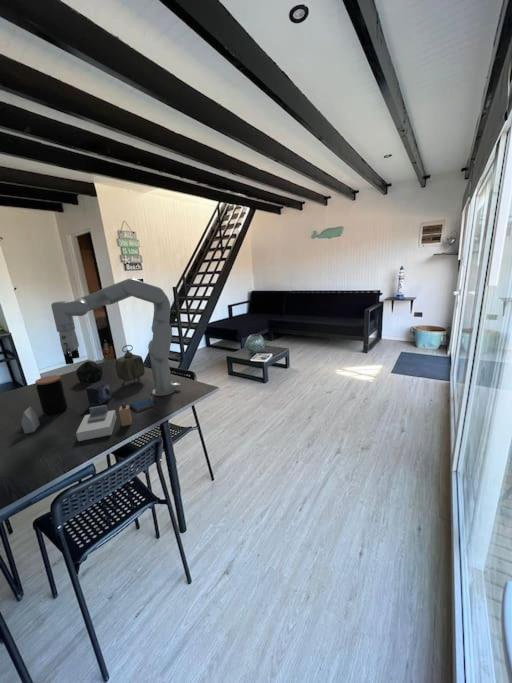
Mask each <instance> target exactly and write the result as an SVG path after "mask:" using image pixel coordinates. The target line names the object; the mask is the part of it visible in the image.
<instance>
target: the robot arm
mask: <svg viewBox="0 0 512 683" xmlns="http://www.w3.org/2000/svg"><path fill="white" fill-rule="evenodd" d="M131 297H133V298H136V299H139V300H143V301H145V302H148V303H152V305H153V317H152V323H151V324H152V325H151V332H152V339H151V340H150V341H149V342H148V345H147V346H148V347H147V348H148V354H149V359H150V366H151V372H152V381H153V385H154V389H152V395H153V396H156V397H163V396H165V397H166V396H169V395H171V394H173V393H175V391H176V388H181V384H180V383H178V382H173V381H172V377H171V370H170V361H169V353H170V350H171V345H172V344H171V343H172V338H173V329H172V326H171V324H170V318H171V303H170V300H169V297H168V295H167V294H166V293H165V292H164V290H163V289H162V288H161V287H159V286H155V285H154V284H153V285H152V284H149V283H147V282H143V281H141V280H138V279H137V278H133V277H132V278H131V277H130V278H127V279H123V280H122V281H119V282H117V283H113V284H112V285H109V286H106V287H104V288H102V289H99V290H98V291H95V292H92V293H90V294H88V295H84V296H82V297H79V298H77V299H75V300H72V301H67V300H66V301H65V300H64V301H61V300H60V301H54V302H52V303H51V304H50V305H51V310H52V311H51V312H52V315H53V319H54V323H55V324H54V325H55V327H56V332H57V333H58V336H59V342H60V345H61V346H60V347H61V351H62V354H63V356H64V357H63V358H64V362H65V365H74V359H80V353H79V347H80V344H79V341H78V336H77V332H76V325H75V322H74V317H82V316H85V315H86V314H88V312H90V311H92V310H95V309H98V308H100V307H103V306H109V305H114V304H116V303H119V302H121V301H123V300H125V299H128V298H131Z"/></svg>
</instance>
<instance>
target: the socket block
mask: <svg viewBox="0 0 512 683" xmlns="http://www.w3.org/2000/svg"><path fill="white" fill-rule="evenodd" d="M107 411H108V413H107V416H106V418H105V419H104V420H99V421H93V422H88V419H89V417H90V415H91V414H90V413H89V414H85V415H84V416H83V419H82V421H81V423H79V424H80V425H79V426H78V428H77V431H76V433H75V434H76V438H77V442H82V441H85V440H86V441H87V440H92V439H96V438H101V437H106V436H112V435H113V431H114V428H115V424H116V420H117V412H116V410H115V409H112V410H107Z"/></svg>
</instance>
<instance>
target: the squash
mask: <svg viewBox="0 0 512 683" xmlns="http://www.w3.org/2000/svg"><path fill="white" fill-rule="evenodd" d="M103 370H104V369H103V368H102V365H100V364H99V363H97V362H94V361H92V360H91V361H90V360H89V361H84V362H83V363H82V364H81V365H79V366H78V368H76V373H75V374H76V377H77V379H78V381H79V382H80V383H86V384H92V383H97V382H98V381H101V379H102V377H103V373H104V372H103Z"/></svg>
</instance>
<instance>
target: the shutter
mask: <svg viewBox="0 0 512 683" xmlns="http://www.w3.org/2000/svg"><path fill="white" fill-rule="evenodd" d="M107 407H108V406H107V404H102V405H101V406H97V407H95V406H90V407H89V408H88V409H89V414H91V415H90V417H89V419H88V422H93V421H99V420H104V419H105V418H106V416H107V413H108V411H109V410H108V408H107Z"/></svg>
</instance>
